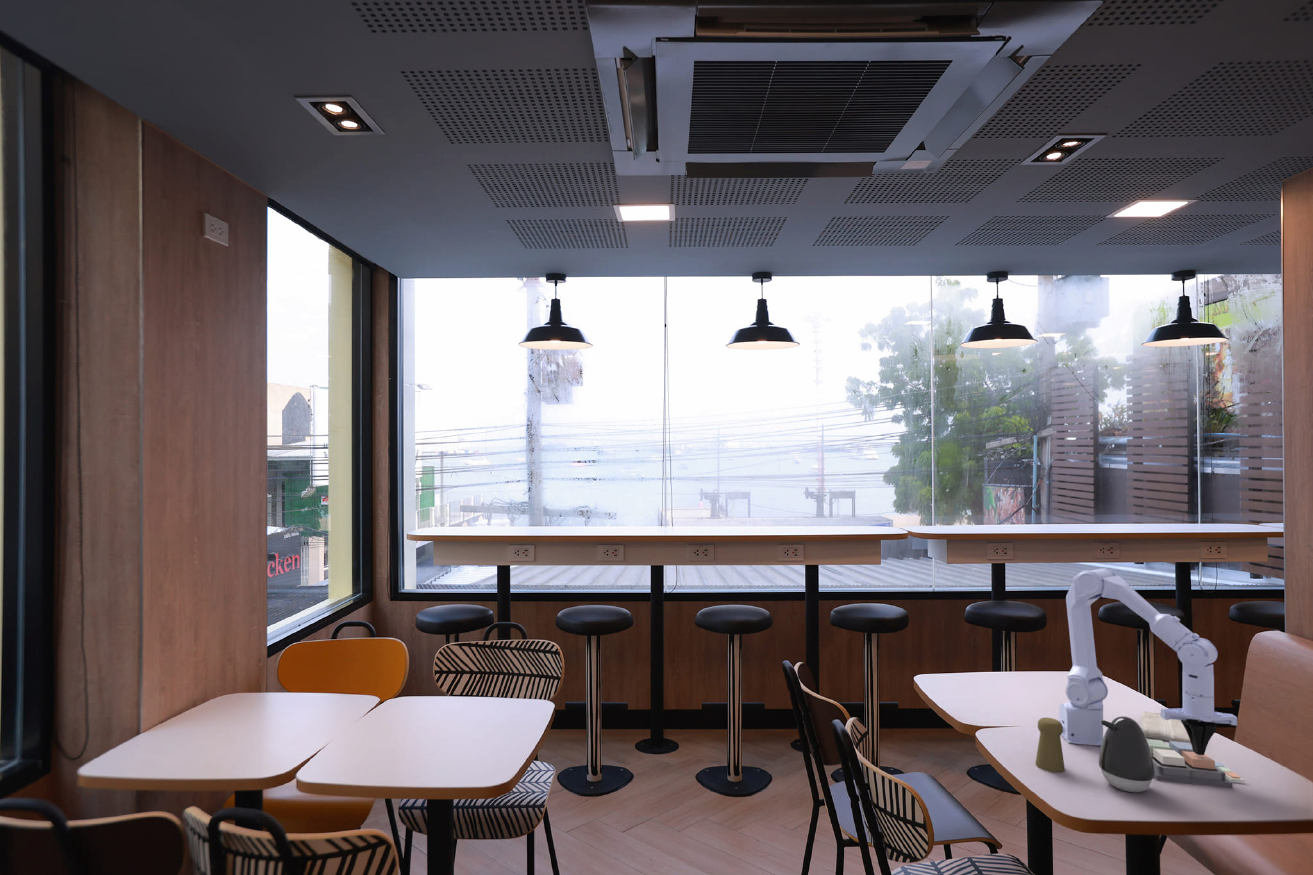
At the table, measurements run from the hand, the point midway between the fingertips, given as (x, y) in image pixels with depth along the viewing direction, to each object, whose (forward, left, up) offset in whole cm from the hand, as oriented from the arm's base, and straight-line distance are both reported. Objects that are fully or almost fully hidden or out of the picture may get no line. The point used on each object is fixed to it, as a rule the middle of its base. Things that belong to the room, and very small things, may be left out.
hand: (1198, 753), depth 160 cm
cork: (-32, -3, -6) cm, 33 cm away
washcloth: (+7, +29, -6) cm, 30 cm away
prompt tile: (+7, +3, -5) cm, 9 cm away
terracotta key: (0, 0, -2) cm, 2 cm away
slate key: (0, +6, -2) cm, 7 cm away
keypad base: (-3, +3, -5) cm, 7 cm away
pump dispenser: (-19, -10, -6) cm, 22 cm away
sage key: (-6, +6, -2) cm, 9 cm away
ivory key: (-6, 0, -2) cm, 7 cm away
